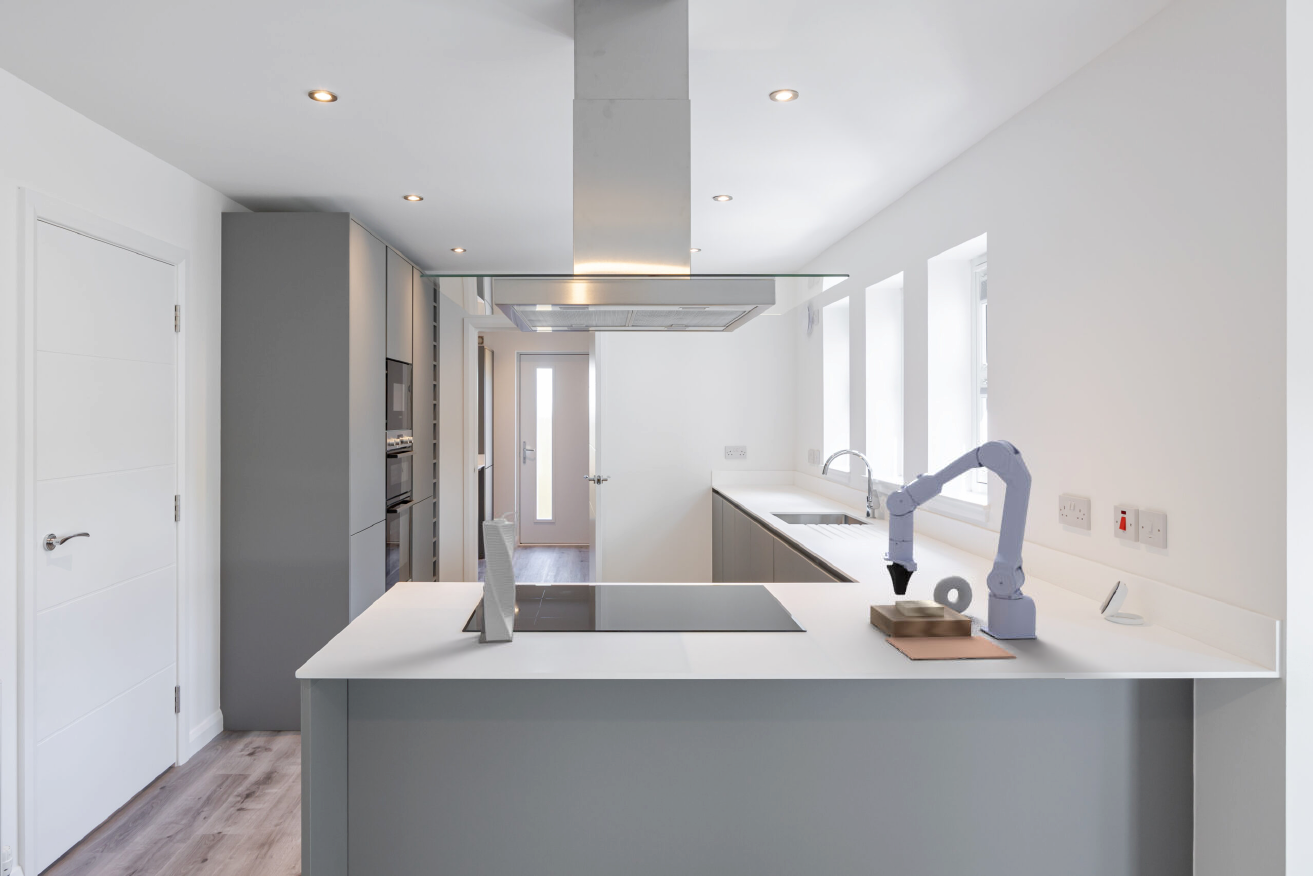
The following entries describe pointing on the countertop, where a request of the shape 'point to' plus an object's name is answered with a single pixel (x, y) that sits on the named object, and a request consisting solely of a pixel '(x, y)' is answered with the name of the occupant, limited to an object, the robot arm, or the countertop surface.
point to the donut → (949, 584)
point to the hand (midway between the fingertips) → (899, 594)
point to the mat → (949, 647)
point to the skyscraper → (498, 581)
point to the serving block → (919, 623)
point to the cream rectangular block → (919, 608)
